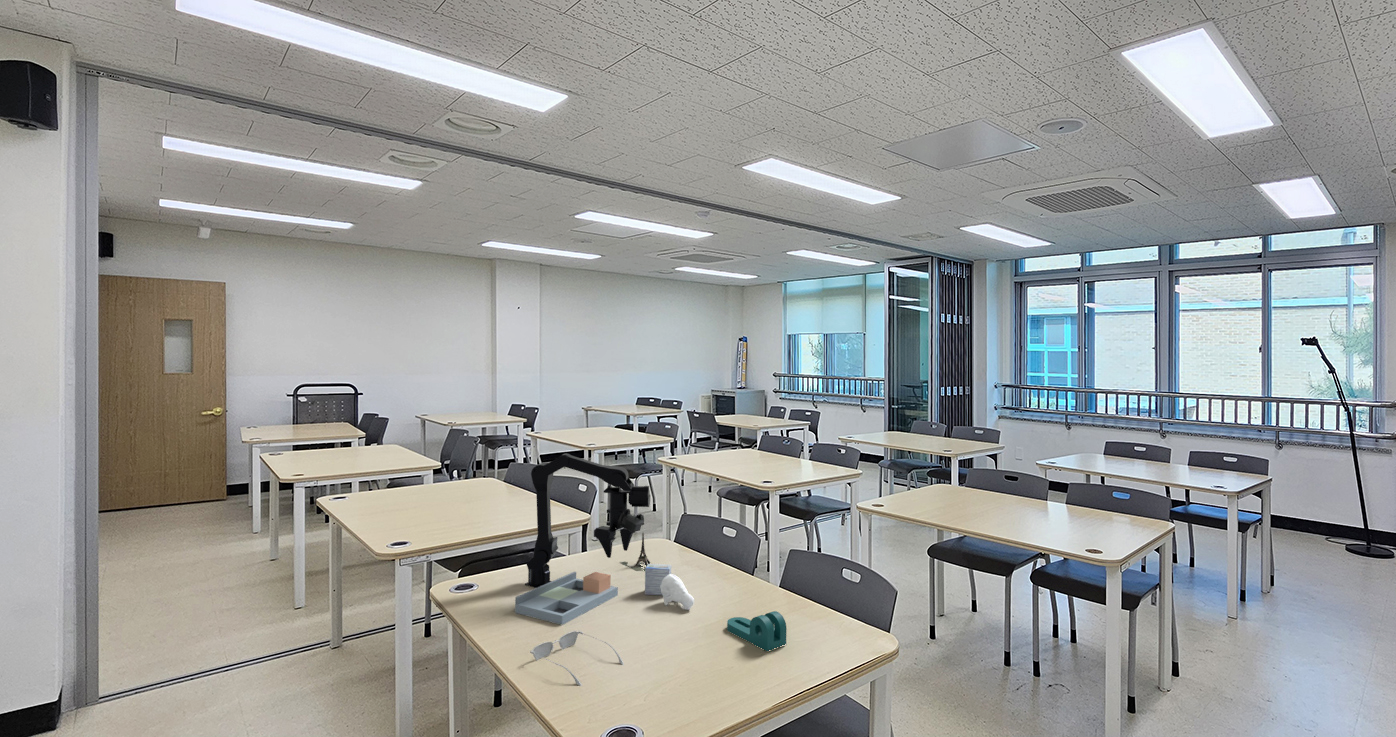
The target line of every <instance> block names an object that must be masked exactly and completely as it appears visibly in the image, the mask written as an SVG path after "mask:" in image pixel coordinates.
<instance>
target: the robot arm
mask: <svg viewBox="0 0 1396 737" xmlns="http://www.w3.org/2000/svg"><path fill="white" fill-rule="evenodd" d="M563 468H567V469H570V470H574V471H577V472H581V473H583V474H587V475H590V476H593V477H596V478H599V479H600V480H602V482H603V481H604V482H605V483H606V484H607V487H606V488H605V489H603V493H604V494H609V509H608V508H607V509H606V514H609V517H608V518H609V519H608V521H607V522H606V526H605V525H601V526H598V527H595V529H593V537H594V538H596V539H597V540H598V542H599V543H600V545H601V547H602V549H603V551H604V553H605V555H606V557H607V558H608V559H609V558H612V550H613V543H614V541H615V540H616V539H617V537H616V535H617V532H618V531H619V533H620V539H621V543H622V549H623V550H624V551H628V550H629V545H630V543H631V540H632V537H633V535H634V534H635V533H636V532H640V531H641V528H642V526H644V525H645V516H644V515H643V514H642V513H638V514H637V515H635V514H634V515H632V514H631V510H630V508H628V504H629V505H630V506H631V507H632V508H650V505H651V504H650V503H651V493H650V486H649V485H645V486H644V485H643V486H642V485H639V486H637V485H635V484H634V483H633V481H632V480H631V478H630V477H629V472H628V470H627V468H625V467H623V466H617V465H605V464H601V463H597V462H595V461H594V462H593V461H591V460H588V459H584V458H581V457H577V456H575V455H571V454H570V453H567V452H566V453H563V454H561V455H560V456H558V457H557V458H555V459H553V460H551V461H550V462H547V461H545V462H541V463H539V464H536V466H534V467H533V468H532V469H531V472H530V475H531V476H530V477H531V481H532V485H533V487H534V490H535V492H536V522H537V525H536V526H537V537H536V540H535V544H534V550H533V555H532V557H531V558H530V559H529V560H528V561H527V562H526V563H525V564H526V567H527V570H528V574H527V575H528V577H527V578H528V580H527V581H528V582H525V583H524V586H526V587H531V588H534V589H535V588H538V587H540V586H542V585H545V584H547V583H549V582H551V581H552V580H551V571H550V565H549V564H548V563H549V562H550V560H552V558H553V557H554V556H555V555H556V553H557V551H558V549H559V546H558V536H554V535H553V534H552V515H551V514H552V513H551V487H552V485H553V484H552V483H553V479H554V473H556V472H558V471H559V470H561V469H563Z"/></svg>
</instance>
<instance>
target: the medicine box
mask: <svg viewBox="0 0 1396 737" xmlns="http://www.w3.org/2000/svg"><path fill="white" fill-rule="evenodd" d="M669 574H672V564H664V563H663V564H662V563H661V564H660V563H651V564H648V565H647V566H646V568H645V571H644V595H645V596H646V595H647V596H648V595H650V596H663V594H662V593H661V588H660V585H661V584H662V580H663V579H664V578H665V577H666V576H667V575H669Z"/></svg>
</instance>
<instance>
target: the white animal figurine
mask: <svg viewBox="0 0 1396 737" xmlns="http://www.w3.org/2000/svg"><path fill="white" fill-rule="evenodd" d="M660 588H661V593H662V594H663V595H662V599H663V602H664V603H663V604H664V606H668V605H669V603H671V602H675V603H679V604H681V606H680V608H682V609H683V610H687V611H690V609H691V608H692V607H693V606H694V604H695V598H694V597H693V596H692V594H690V593H689V591H688V589H687V588H686V586H685V584H684V582H683V580H682V579H681V578H680V577H679V576H677V575H676V574H673V573H671V574H669V575H667V576H666V577H665V578H664V579H663V580H662V584H661V585H660Z"/></svg>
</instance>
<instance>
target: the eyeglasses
mask: <svg viewBox="0 0 1396 737" xmlns="http://www.w3.org/2000/svg"><path fill="white" fill-rule="evenodd" d="M578 635H584V636H588V637H591V638H593V639H595V640H598V641H600V642H602V643H604V644H606V645H608V646H609V647H610V648H611V649H612V650H613V651H614V653H615V654H616V656H617V658H618V662H619V664H620V665H622V666H624V665H625V664H624V661H623V660H622V658H621V656H620V655H619V653H618V652H617V650H616V649H615V648H614V647H613V646H612V645H611V644H610V643H608V642H606V641H603V640H601V639H599V638H597V637H594V636H591V635H589V634H586V633H584V632H583V631H580V630H578V631H576V630H573V631H570V632H567V633H565V634H563V635H562V636H560V638H559V639H558V640H554V641H553V642H552V641H545V642H542V643H540V644H537V645H535V647H533V649H532V650H529V651H530V654H532V656H533V658H534V659H535V661H539V660H540V659H544V660H547V661H549V662H551V663H553V664H555V665H557V666H560V667H562V668H563V669H565V670H566V671H567V672H568V673H569V674H570V676H571V677H572V678H573V680H574V682H575V685H577V686H580V687H581V686H583V685H582V683H581V682H580V680H579V679H578V678H577V677H576V676H575V674H574V673H573V672H571V671H570V669H568V667H566V666H564V665H563V664H559V663H557V662H555V661H552V660H549V659H547V658H545V657H548V656H550V655H551V653H552V651H554V648H555V647H554V646H555V645H554V644H555V643H558V644H559V647H560V648H561V650H562V649H563V650H565V649H567V648H568V647H572V646H575V644H576V642H577V638H578ZM571 645H572V646H571Z"/></svg>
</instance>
